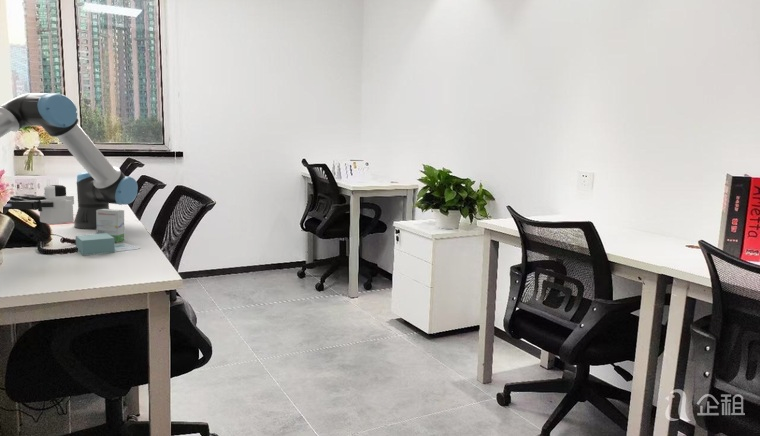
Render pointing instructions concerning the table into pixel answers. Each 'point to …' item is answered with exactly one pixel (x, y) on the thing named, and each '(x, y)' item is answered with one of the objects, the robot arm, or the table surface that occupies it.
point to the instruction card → (124, 247)
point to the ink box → (111, 223)
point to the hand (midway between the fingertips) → (69, 202)
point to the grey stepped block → (57, 214)
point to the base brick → (95, 244)
